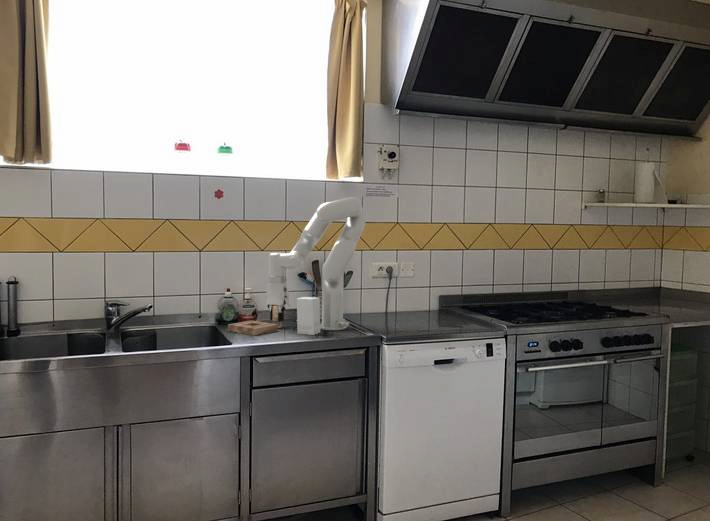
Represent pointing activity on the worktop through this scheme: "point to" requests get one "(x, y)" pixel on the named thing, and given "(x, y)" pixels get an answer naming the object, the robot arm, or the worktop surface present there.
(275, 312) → the beech peg
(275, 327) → the wooden square frame
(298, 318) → the skincare box
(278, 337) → the worktop surface
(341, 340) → the worktop surface
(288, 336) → the worktop surface
